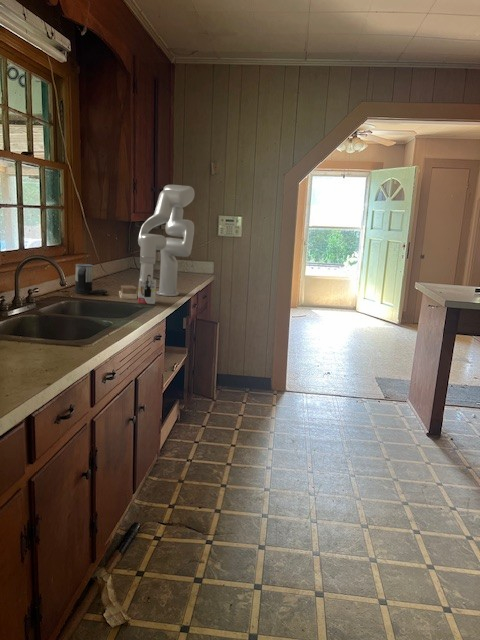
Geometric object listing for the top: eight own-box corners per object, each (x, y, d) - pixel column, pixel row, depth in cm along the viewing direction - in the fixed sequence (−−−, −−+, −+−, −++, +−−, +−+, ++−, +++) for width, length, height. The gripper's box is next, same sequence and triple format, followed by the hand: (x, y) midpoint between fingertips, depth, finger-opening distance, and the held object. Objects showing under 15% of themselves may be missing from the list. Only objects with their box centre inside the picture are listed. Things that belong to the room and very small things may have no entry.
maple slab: (119, 296, 255) (119, 291, 254) (134, 296, 258) (134, 291, 257) (121, 299, 248) (121, 293, 247) (136, 299, 251) (137, 294, 250)
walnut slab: (120, 291, 254) (120, 285, 253) (134, 291, 257) (134, 285, 256) (122, 293, 248) (122, 287, 247) (136, 293, 250) (136, 288, 250)
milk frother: (73, 290, 257) (74, 263, 254) (103, 291, 264) (104, 264, 260) (76, 295, 244) (77, 266, 241) (108, 296, 251) (109, 268, 248)
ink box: (137, 303, 240) (138, 279, 238) (137, 301, 245) (139, 278, 242) (155, 304, 242) (156, 280, 239) (155, 302, 247) (156, 279, 244)
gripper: (137, 257, 245) (135, 292, 249) (143, 262, 230) (141, 298, 234) (151, 258, 248) (149, 292, 252) (159, 262, 233) (157, 299, 236)
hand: (145, 295), depth 243 cm, fingers open, 6 cm apart
